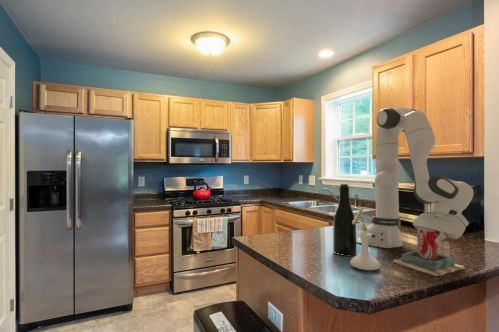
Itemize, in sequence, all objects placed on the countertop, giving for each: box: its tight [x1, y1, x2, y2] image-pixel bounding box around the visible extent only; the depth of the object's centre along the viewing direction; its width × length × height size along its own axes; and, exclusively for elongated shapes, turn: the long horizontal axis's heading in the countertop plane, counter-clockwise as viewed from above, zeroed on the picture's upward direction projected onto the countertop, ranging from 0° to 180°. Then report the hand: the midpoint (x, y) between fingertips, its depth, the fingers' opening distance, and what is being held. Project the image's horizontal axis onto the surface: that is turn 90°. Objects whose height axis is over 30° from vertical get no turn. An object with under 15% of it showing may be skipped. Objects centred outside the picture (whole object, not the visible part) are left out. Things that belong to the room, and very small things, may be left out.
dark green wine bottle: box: [332, 183, 358, 256], centre depth 136 cm, size 10×10×33 cm
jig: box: [392, 250, 465, 276], centre depth 117 cm, size 18×18×4 cm
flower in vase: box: [350, 206, 381, 271], centre depth 115 cm, size 13×11×25 cm
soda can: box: [416, 228, 439, 261], centre depth 117 cm, size 7×7×12 cm
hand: (426, 240), depth 117 cm, fingers closed on soda can, 7 cm apart
